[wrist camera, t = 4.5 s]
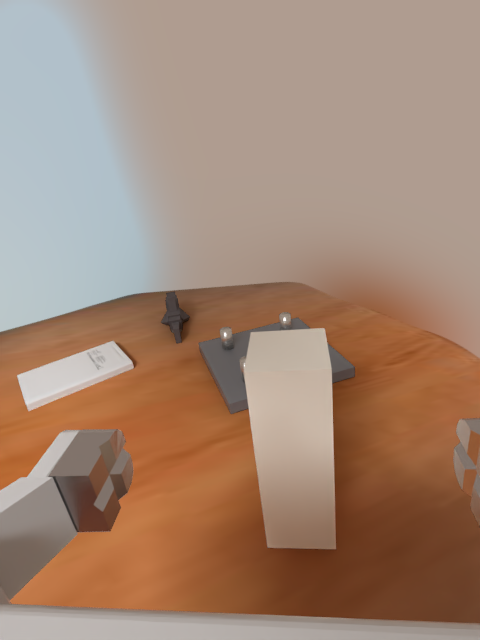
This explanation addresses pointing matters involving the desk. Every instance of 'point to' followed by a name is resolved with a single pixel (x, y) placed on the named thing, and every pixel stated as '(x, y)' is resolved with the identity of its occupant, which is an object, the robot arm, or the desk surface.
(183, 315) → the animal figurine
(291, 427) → the cream column
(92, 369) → the external hard drive
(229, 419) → the desk surface
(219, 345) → the plate
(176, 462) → the desk surface
